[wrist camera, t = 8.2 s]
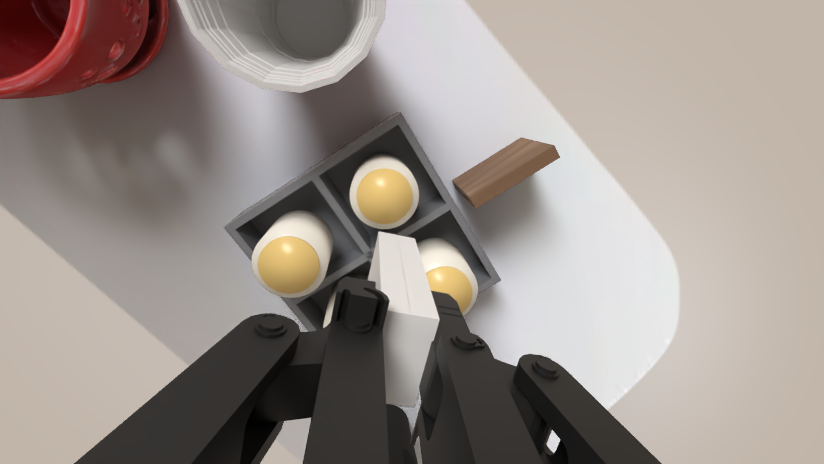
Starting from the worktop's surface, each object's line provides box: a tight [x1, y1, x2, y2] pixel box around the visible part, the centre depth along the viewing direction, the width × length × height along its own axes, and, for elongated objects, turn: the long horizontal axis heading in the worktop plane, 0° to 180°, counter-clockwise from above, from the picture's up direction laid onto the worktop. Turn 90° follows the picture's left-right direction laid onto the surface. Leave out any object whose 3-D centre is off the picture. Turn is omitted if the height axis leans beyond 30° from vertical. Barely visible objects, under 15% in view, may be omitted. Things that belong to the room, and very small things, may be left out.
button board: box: [224, 112, 501, 332], centre depth 35 cm, size 16×16×4 cm
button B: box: [350, 153, 419, 229], centre depth 32 cm, size 5×5×5 cm
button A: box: [252, 210, 334, 298], centre depth 30 cm, size 5×5×5 cm
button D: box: [417, 238, 478, 316], centre depth 32 cm, size 5×5×5 cm
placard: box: [452, 138, 560, 209], centre depth 33 cm, size 1×7×7 cm, turn 122°
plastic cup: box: [177, 0, 386, 93], centre depth 26 cm, size 11×11×12 cm
